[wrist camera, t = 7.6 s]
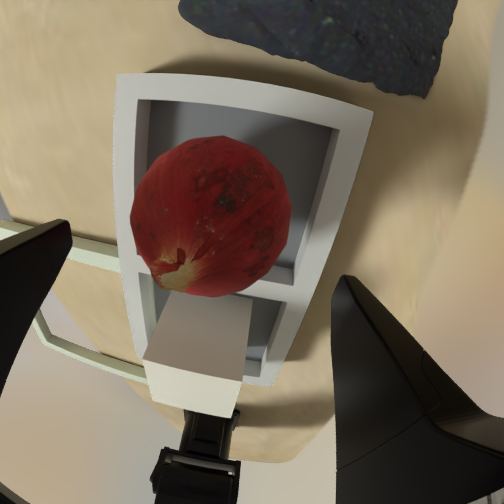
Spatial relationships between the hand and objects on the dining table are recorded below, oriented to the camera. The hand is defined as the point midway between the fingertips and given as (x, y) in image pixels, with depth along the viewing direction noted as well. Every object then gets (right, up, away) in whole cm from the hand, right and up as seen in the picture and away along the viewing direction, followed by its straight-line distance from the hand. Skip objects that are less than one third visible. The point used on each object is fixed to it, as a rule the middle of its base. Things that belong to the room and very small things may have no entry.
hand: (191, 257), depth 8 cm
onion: (+1, +3, +6) cm, 7 cm away
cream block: (-1, -4, +11) cm, 12 cm away
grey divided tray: (0, 0, +9) cm, 9 cm away
